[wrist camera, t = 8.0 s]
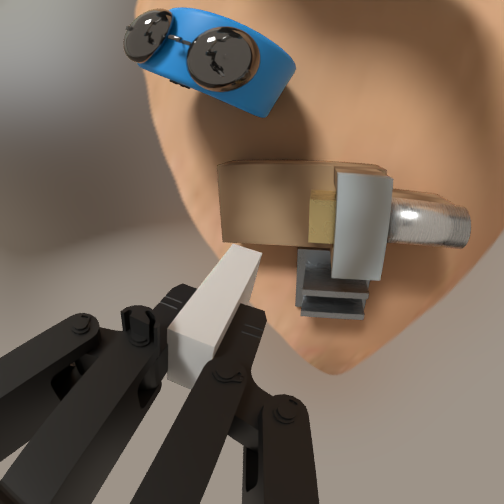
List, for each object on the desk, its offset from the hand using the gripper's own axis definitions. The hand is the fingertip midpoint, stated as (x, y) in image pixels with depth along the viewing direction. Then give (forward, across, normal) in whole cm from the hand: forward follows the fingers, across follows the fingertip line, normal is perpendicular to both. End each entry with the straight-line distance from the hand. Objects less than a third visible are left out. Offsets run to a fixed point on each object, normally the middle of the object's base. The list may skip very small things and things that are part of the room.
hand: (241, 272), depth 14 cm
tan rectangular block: (+13, +5, +1) cm, 14 cm away
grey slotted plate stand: (+18, +8, -8) cm, 22 cm away
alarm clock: (+19, -8, +12) cm, 24 cm away
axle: (+13, +12, +3) cm, 19 cm away
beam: (+18, +6, +2) cm, 19 cm away
